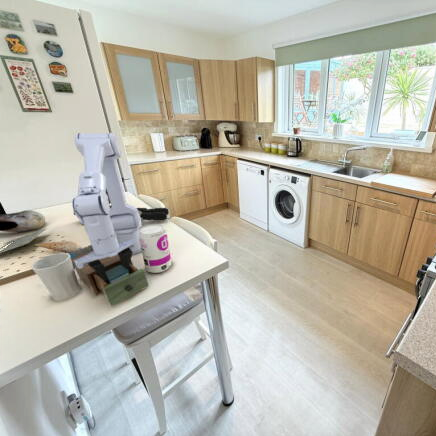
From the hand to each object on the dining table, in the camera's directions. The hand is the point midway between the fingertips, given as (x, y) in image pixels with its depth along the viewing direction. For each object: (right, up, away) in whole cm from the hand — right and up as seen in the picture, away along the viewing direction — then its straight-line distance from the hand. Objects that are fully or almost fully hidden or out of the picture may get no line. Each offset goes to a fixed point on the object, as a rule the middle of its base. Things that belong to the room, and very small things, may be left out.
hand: (116, 276), depth 70 cm
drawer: (0, -4, +2) cm, 5 cm away
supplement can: (+5, 0, +13) cm, 14 cm away
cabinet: (-9, -2, +8) cm, 12 cm away
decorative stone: (-65, +15, +25) cm, 72 cm away
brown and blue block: (-19, +5, +17) cm, 26 cm away
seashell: (-37, +8, +18) cm, 41 cm away
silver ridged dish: (-54, +11, +26) cm, 61 cm away
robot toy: (-9, +19, +45) cm, 50 cm away
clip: (-20, +13, +39) cm, 46 cm away
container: (0, -3, +2) cm, 4 cm away
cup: (-16, -6, +1) cm, 17 cm away
